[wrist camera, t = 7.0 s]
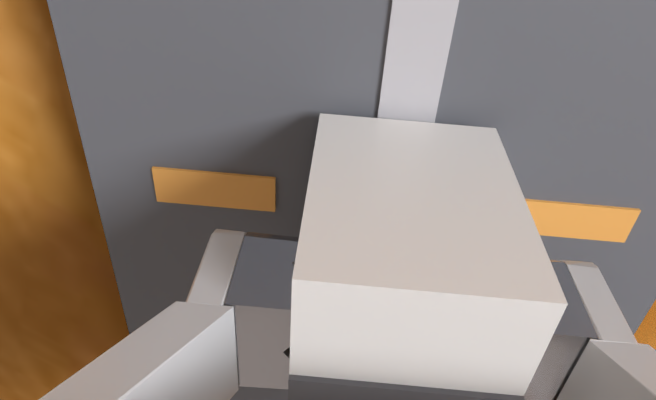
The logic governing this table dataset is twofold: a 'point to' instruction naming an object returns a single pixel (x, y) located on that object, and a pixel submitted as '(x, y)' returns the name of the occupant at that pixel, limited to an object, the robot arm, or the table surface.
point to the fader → (417, 268)
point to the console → (363, 101)
